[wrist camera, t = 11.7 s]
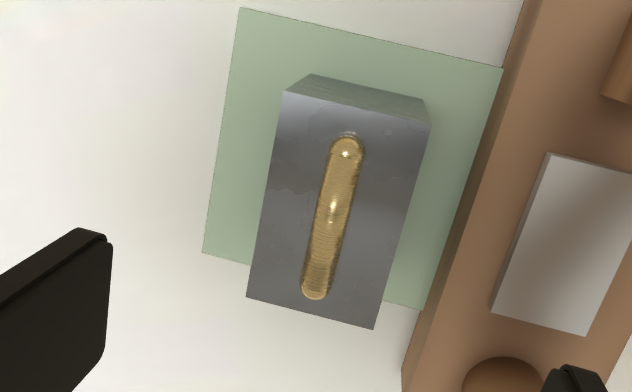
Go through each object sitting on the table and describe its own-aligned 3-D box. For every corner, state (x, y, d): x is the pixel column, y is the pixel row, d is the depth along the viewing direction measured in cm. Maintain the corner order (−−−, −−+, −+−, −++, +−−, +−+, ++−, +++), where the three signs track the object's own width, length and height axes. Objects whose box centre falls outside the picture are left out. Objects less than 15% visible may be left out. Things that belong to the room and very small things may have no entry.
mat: (513, 70, 22) (516, 71, 21) (432, 308, 26) (432, 313, 26) (242, 7, 23) (239, 7, 22) (204, 248, 27) (201, 252, 26)
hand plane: (739, 12, 20) (946, 7, 13) (550, 409, 27) (612, 559, 19) (535, -33, 21) (617, -64, 13) (401, 369, 27) (404, 500, 20)
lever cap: (422, 99, 22) (434, 130, 16) (377, 260, 25) (372, 344, 19) (310, 73, 23) (278, 94, 16) (277, 236, 25) (239, 309, 19)
